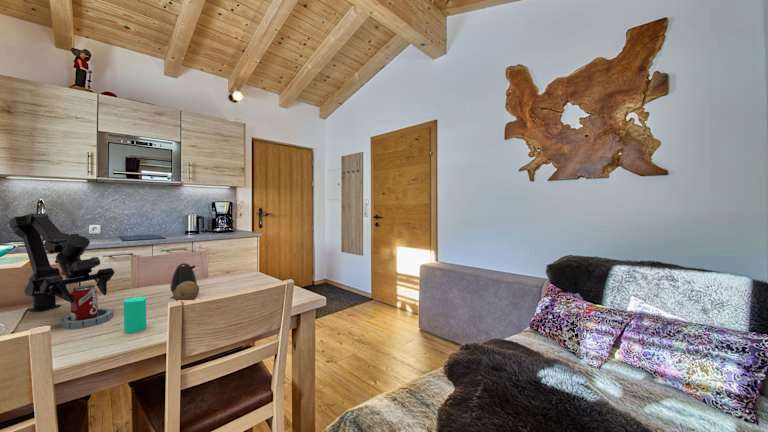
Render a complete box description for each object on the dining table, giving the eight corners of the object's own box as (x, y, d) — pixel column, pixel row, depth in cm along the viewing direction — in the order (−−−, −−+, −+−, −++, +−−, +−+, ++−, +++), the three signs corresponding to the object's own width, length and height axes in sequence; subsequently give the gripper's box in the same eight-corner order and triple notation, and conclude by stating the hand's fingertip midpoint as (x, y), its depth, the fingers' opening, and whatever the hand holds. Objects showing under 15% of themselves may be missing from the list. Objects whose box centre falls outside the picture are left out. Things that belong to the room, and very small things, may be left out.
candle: (127, 334, 98) (127, 298, 97) (120, 329, 101) (120, 295, 100) (149, 328, 103) (149, 294, 102) (142, 323, 106) (142, 291, 105)
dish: (50, 326, 102) (50, 320, 102) (94, 312, 114) (94, 307, 114) (80, 330, 99) (80, 324, 99) (121, 316, 112) (121, 310, 112)
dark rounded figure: (187, 299, 131) (187, 266, 131) (164, 299, 132) (164, 265, 131) (202, 292, 142) (202, 261, 141) (180, 291, 142) (180, 260, 141)
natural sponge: (181, 309, 120) (180, 285, 119) (168, 305, 124) (168, 282, 123) (203, 303, 128) (203, 280, 127) (191, 299, 132) (191, 277, 131)
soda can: (70, 325, 101) (69, 291, 101) (71, 319, 106) (71, 286, 106) (97, 320, 106) (97, 287, 105) (97, 315, 111) (97, 283, 110)
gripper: (43, 255, 98) (62, 292, 95) (111, 247, 116) (129, 278, 112) (31, 275, 101) (49, 312, 98) (99, 265, 119) (117, 295, 115)
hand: (89, 298), depth 106 cm, fingers open, 9 cm apart
